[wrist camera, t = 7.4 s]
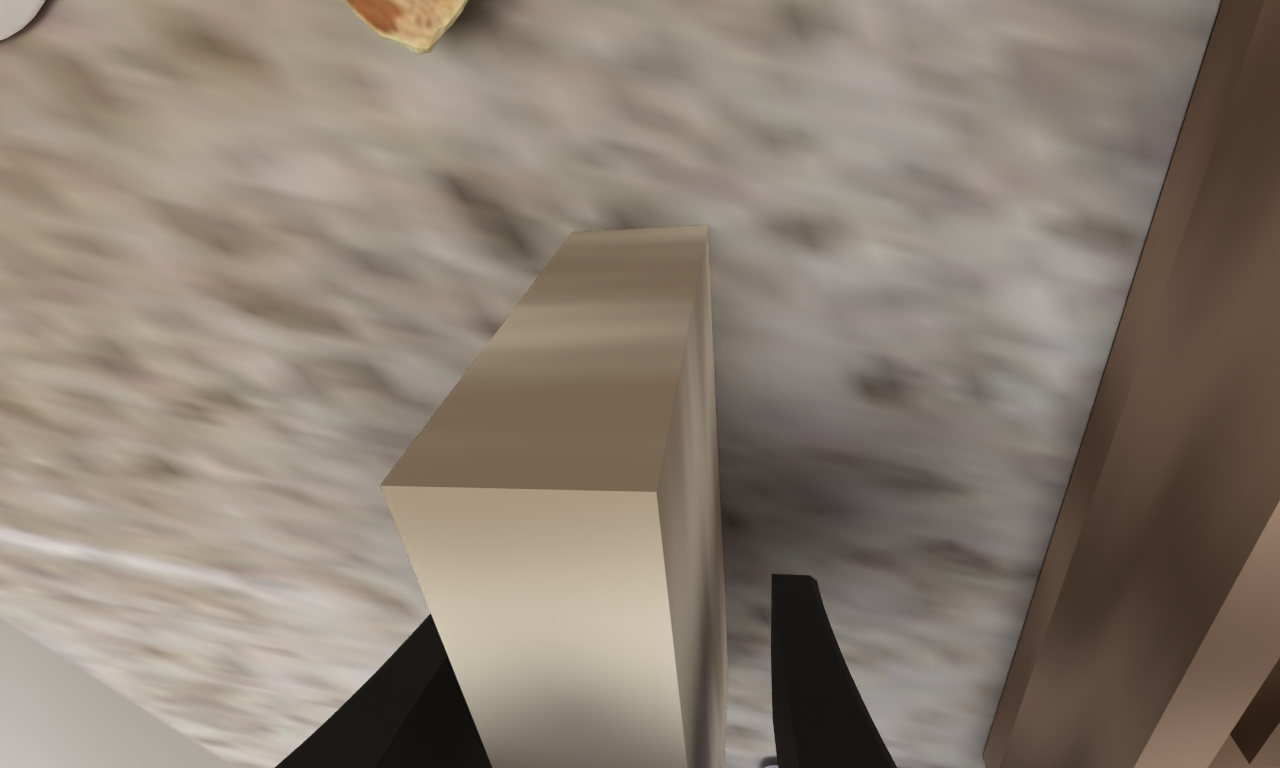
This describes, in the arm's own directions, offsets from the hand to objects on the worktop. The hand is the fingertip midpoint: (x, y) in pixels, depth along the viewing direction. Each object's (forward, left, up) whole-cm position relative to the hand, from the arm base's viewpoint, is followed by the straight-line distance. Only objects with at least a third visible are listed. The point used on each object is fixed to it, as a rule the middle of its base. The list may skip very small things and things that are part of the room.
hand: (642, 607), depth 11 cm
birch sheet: (0, 0, -4) cm, 4 cm away
